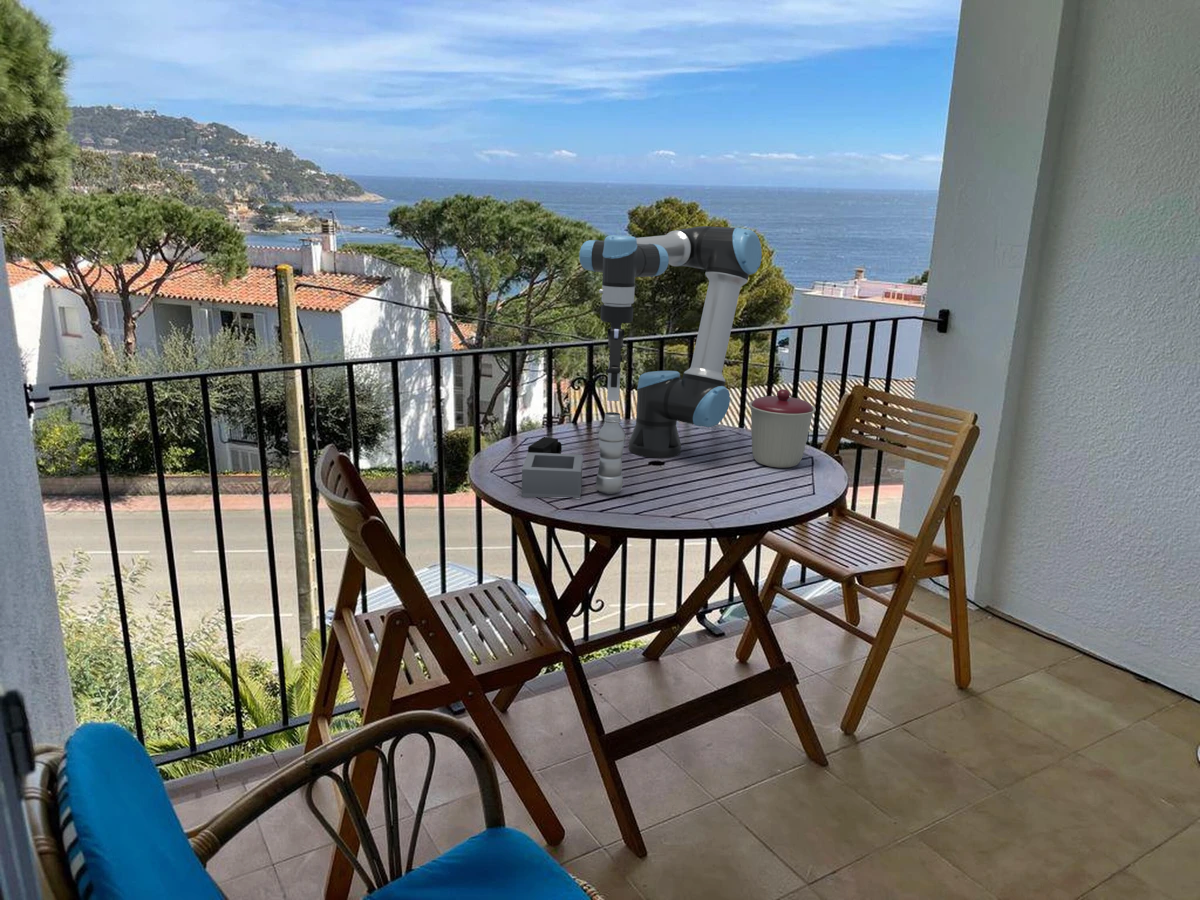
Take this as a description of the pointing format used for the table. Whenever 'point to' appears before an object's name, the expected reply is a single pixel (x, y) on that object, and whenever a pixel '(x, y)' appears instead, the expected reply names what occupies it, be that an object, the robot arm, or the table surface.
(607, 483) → the plastic bottle
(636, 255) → the robot arm
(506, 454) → the table surface
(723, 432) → the table surface
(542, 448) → the digital camera
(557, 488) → the well
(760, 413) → the canister
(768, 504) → the table surface
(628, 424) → the table surface
